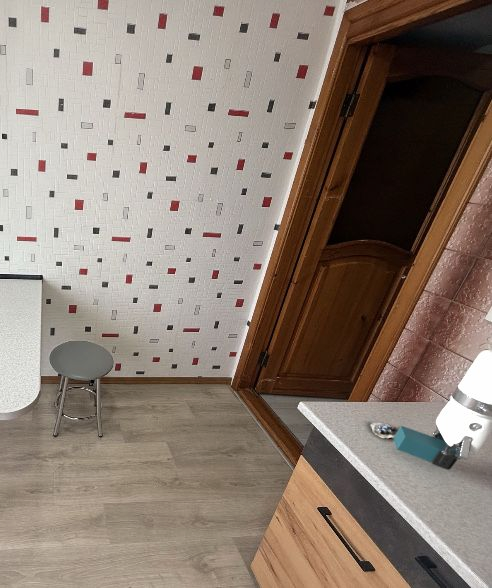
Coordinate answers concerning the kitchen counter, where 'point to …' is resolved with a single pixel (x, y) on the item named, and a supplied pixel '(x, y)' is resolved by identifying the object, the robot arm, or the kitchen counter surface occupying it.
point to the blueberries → (383, 430)
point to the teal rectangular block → (418, 444)
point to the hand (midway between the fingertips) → (436, 457)
